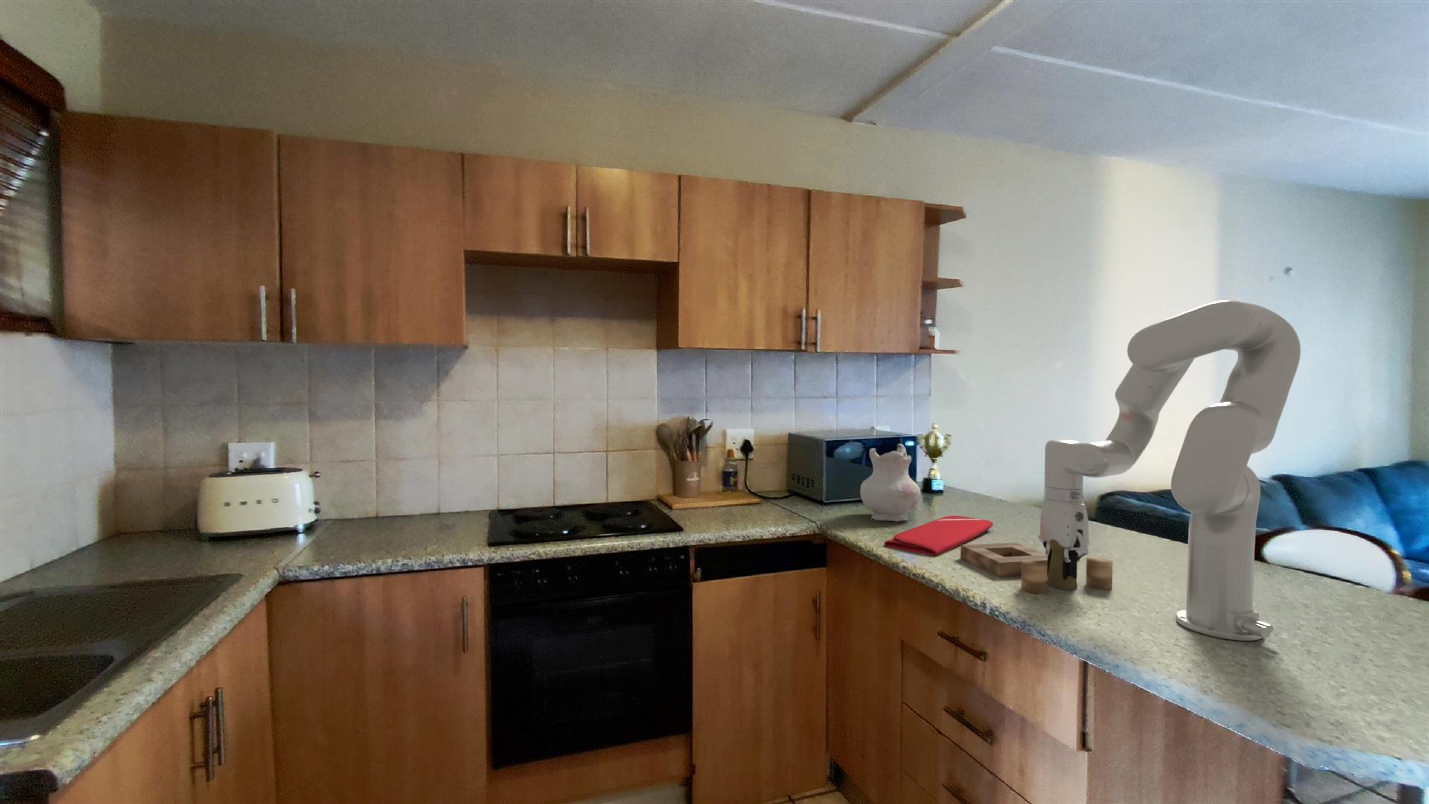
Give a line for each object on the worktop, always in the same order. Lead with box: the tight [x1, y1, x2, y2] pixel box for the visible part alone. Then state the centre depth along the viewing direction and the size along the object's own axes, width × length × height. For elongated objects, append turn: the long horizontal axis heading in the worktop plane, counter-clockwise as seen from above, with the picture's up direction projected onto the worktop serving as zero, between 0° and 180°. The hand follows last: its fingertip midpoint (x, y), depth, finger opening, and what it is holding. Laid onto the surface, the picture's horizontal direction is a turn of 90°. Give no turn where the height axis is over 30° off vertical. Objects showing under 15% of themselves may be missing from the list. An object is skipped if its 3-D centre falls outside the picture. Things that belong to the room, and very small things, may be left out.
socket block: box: [959, 542, 1048, 578], centre depth 154 cm, size 16×16×4 cm
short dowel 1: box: [1020, 560, 1048, 595], centre depth 135 cm, size 5×5×6 cm
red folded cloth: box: [883, 515, 994, 557], centre depth 181 cm, size 16×41×4 cm, turn 136°
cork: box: [1047, 539, 1078, 591], centre depth 138 cm, size 6×6×11 cm
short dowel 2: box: [1085, 556, 1114, 591], centre depth 138 cm, size 5×5×6 cm
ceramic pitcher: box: [859, 443, 922, 523], centre depth 209 cm, size 22×20×25 cm
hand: (1061, 575), depth 139 cm, fingers closed on cork, 3 cm apart
